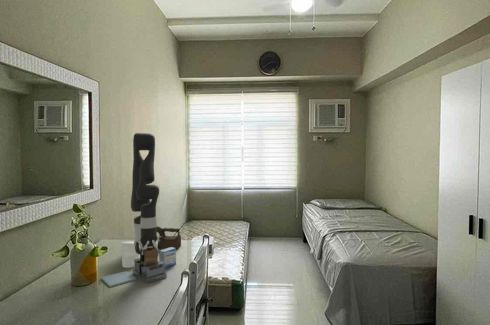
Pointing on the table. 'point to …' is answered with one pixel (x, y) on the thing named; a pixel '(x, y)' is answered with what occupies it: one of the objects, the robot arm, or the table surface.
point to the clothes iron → (169, 238)
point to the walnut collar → (150, 256)
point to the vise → (149, 271)
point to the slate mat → (118, 278)
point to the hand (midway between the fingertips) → (149, 259)
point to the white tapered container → (129, 254)
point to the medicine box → (168, 256)
